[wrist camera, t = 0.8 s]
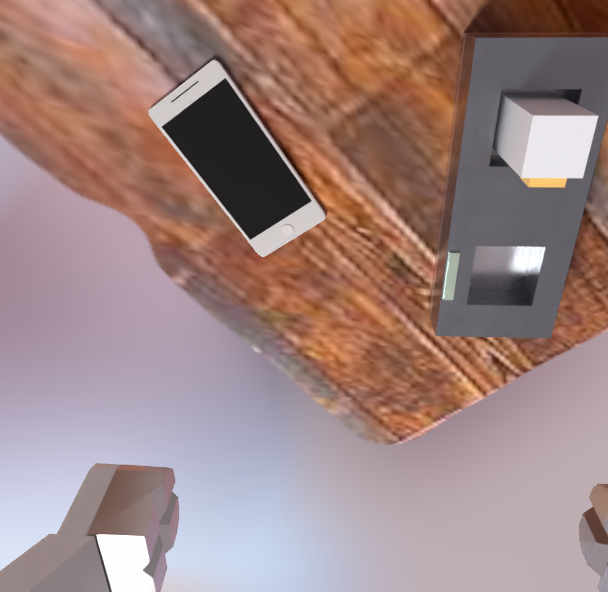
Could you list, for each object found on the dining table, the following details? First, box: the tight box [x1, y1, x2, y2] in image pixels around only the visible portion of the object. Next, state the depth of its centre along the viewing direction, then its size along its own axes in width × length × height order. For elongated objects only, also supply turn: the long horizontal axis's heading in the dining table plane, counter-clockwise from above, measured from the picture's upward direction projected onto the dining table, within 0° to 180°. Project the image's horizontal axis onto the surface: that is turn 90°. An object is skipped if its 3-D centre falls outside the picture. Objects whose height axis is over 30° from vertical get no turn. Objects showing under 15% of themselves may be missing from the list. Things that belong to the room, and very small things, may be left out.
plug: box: [492, 93, 598, 187], centre depth 39 cm, size 5×4×8 cm
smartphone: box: [149, 59, 325, 257], centre depth 46 cm, size 7×15×1 cm, turn 34°
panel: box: [429, 32, 608, 338], centre depth 44 cm, size 24×10×4 cm, turn 0°
